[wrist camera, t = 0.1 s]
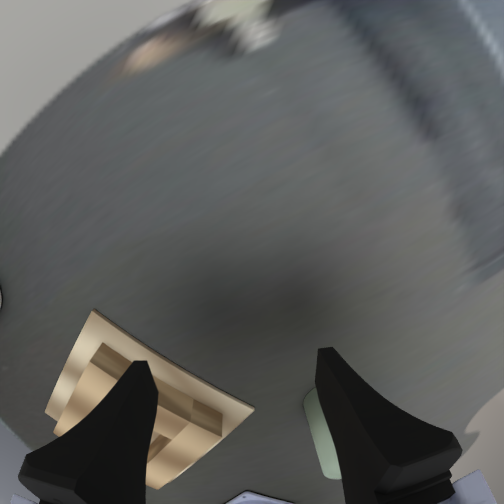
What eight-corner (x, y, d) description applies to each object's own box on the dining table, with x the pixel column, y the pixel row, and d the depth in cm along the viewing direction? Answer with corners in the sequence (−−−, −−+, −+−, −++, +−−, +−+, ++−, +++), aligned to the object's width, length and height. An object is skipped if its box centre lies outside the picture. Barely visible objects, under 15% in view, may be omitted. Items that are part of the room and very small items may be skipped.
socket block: (169, 480, 28) (166, 502, 25) (46, 409, 25) (33, 429, 22) (254, 407, 25) (256, 433, 22) (94, 308, 22) (76, 327, 19)
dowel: (324, 420, 27) (346, 482, 19) (294, 406, 26) (311, 473, 18) (353, 393, 26) (384, 453, 18) (324, 377, 25) (351, 441, 17)
